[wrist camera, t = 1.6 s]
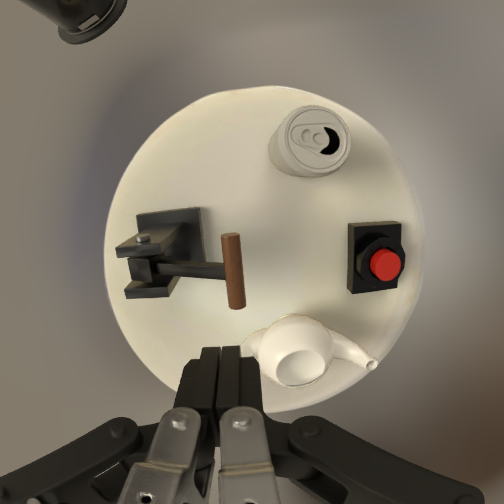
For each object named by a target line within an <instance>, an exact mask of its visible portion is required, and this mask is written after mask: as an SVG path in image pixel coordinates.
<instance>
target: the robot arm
mask: <svg viewBox="0 0 504 504" xmlns="http://www.w3.org/2000/svg"><path fill="white" fill-rule="evenodd" d="M18 1H20V2H22V3H23V4H25V5H27V6H28V7H30V8H32V9H33V10H35V11H36V12H38V13H39V14H41V15H43V16H44V17H46V18H47V19H49V20H50V21H52V22H53V23H55V24H56V25H58V26H59V27H61V28H62V29H64V31H65V32H67V33H68V34H71V35H80V34H84V33H86V32H89V31H91V30H92V29H94V28H96V27H97V26H98V25H100V24H101V23H102V22H103V21H104V20H105V19H106V18H107V17H108V16H109V15H110V14H111V12H112V11H113V9H114V7H115V5H116V3H117V0H18ZM215 447H220V451H221V470H219V472H218V486H219V487H218V488H219V504H281V501H280V497H279V491H278V486H277V481H276V476H278V477H285V478H289V480H290V481H291V482H292V483H293V484H295V485H296V486H298V487H299V488H300V489H302V490H303V491H305V492H306V493H308V494H309V495H310V496H312V497H313V498H315V499H316V500H318V501H319V502H321V503H323V504H484V503H485V501H484V496H483V494H482V492H481V491H480V490H479V489H478V488H476V487H474V486H471V485H468V484H465V483H462V482H459V481H456V480H454V479H451V478H448V477H445V476H443V475H440V474H437V473H435V472H432V471H430V470H427V469H425V468H423V467H420V466H418V465H415V464H413V463H410V462H408V461H406V460H404V459H402V458H399V457H397V456H395V455H393V454H391V453H389V452H387V451H385V450H383V449H380V448H379V447H376V446H374V445H372V444H371V443H369V442H366V441H365V440H363V439H361V438H359V437H357V436H355V435H353V434H351V433H349V432H347V431H346V430H344V429H342V428H340V427H338V426H337V425H335V424H333V423H331V422H329V421H328V420H326V419H324V418H322V417H319V416H304V417H301V418H299V419H297V420H295V421H294V422H293V423H292V424H289V423H281V422H277V421H274V420H272V419H271V418H269V417H268V416H267V415H266V414H265V413H264V411H263V403H262V390H261V379H260V367H259V363H258V361H257V360H256V359H255V358H254V356H251V357H242V355H241V348H240V345H239V346H223V347H222V351H221V347H203V348H202V352H201V356H200V359H191V360H190V361H189V362H188V363H187V364H186V365H185V367H184V369H183V373H182V377H181V380H180V384H179V387H178V391H177V394H176V398H175V402H174V406H173V409H171V410H169V411H168V412H166V413H165V414H164V415H163V416H162V418H161V420H160V422H159V423H155V424H151V425H145V426H137V424H136V423H135V422H134V421H133V420H131V419H129V418H126V417H118V418H114V419H111V420H109V421H108V422H106V423H104V424H102V425H101V426H99V427H97V428H96V429H94V430H92V431H90V432H88V433H87V434H85V435H83V436H81V437H80V438H78V439H76V440H74V441H72V442H70V443H69V444H67V445H65V446H63V447H61V448H59V449H57V450H56V451H54V452H52V453H50V454H48V455H46V456H44V457H42V458H40V459H38V460H36V461H34V462H32V463H30V464H28V465H26V466H24V467H21V468H19V469H17V470H15V471H13V472H11V473H8V474H6V475H4V476H2V477H0V504H209V495H210V489H211V484H212V477H213V472H214V466H215V459H214V453H215ZM118 462H119V464H117V463H118ZM115 464H117V465H116V466H114V467H112V466H113V465H115ZM110 467H112V468H111V469H109V468H110ZM107 469H109V470H108V471H106V472H104V471H105V470H107ZM102 472H104V473H103V474H101V475H99V474H100V473H102ZM97 475H99V476H98V477H95V476H97ZM94 477H95V478H94Z"/></svg>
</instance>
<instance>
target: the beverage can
mask: <svg viewBox="0 0 504 504" xmlns="http://www.w3.org/2000/svg"><path fill="white" fill-rule="evenodd" d="M350 148H351V136H350V132H349V129H348V127H347V125H346V123H345V122H344V120H343V119H342V118H341V117H340V116H339V115H338V114H337V113H335V112H334V111H332V110H330V109H328V108H325V107H321V106H315V105H308V106H302V107H299V108H297V109H295V110H293V111H292V112H290V113H289V114H288V115H287V116H286V117H285V118H284V120H283V121H282V123H281V124H280V126H279V127H278V128H277V130H276V131H275V133H274V134H273V136H272V137H271V140H270V143H269V155H270V158H271V160H272V162H273V164H274V165H275V166H276V167H277V168H278V169H279V170H280V171H281V172H283V173H285V174H288V175H291V176H305V177H323V176H327V175H330V174H332V173H334V172H335V171H337V170H338V169H339V168H340V167H341V166H342V165H343V164H344V162H345V161H346V159H347V156H348V154H349V152H350Z"/></svg>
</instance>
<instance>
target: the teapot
mask: <svg viewBox="0 0 504 504" xmlns="http://www.w3.org/2000/svg"><path fill="white" fill-rule="evenodd" d="M240 348H241V355H242V357H251V356H254V358H257V359H258V363H259V367H260V369H261V370H262V372H263V373H264V375H265V376H266V377H268V378H269V379H270V380H272V381H274V382H275V383H277V384H279V385H281V386H284V387H287V388H303V387H306V386H309V385H311V384H313V383H315V382H317V381H318V380H319V379H320V378H321V377H322V376H323V375H324V374H325V373H326V371H327V369H328V368H329V366H330V364H331V362H332V359H333V358H335V359H343V360H348V361H351V362H354V363H356V364H358V365H359V366H361V367H363V368H364V369H366V370H373V369H374V368H376V367H377V365H378V361H377V359H376V358H375V357H373V356H372V355H371V354H369V353H368V352H367V351H365V350H364V349H363V348H361V347H360V346H359V345H357V344H356V343H354V342H353V341H351V340H350V339H348V338H346V337H345V336H343V335H341V334H339V333H337V332H335V331H332V330H330V329H327V328H325V327H324V326H323V325H322V324H321V323H320V322H318V321H317V320H315V319H313V318H310V317H307V316H303V315H295V314H287V315H284V316H282V317H280V318H279V319H278V320H277V321H275V322H274V323H272V324H271V325H270V326H269V327H267V328H264V329H261V330H258V331H256V332H254V333H252V334H251V335H250V336H248V337H247V338H246V339H245V340H244V341H243V342H242V343H241V344H240Z"/></svg>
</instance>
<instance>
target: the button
mask: <svg viewBox="0 0 504 504" xmlns="http://www.w3.org/2000/svg"><path fill="white" fill-rule="evenodd" d="M400 267H401V262H400V258H399V257H398V255H397V254H395V253H393V252H392V251H390V250H388V249H381V250H378V251H377V252H376V253H375V254H374V255H373V256H372V258H371V261H370V268H371V271H372V273H373V274H374V275H376V276H377V277H378V278H379V279H381V280H383V281H389V280H392V279H393V278H395V277H396V276H397V274H398V273H399V270H400Z"/></svg>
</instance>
